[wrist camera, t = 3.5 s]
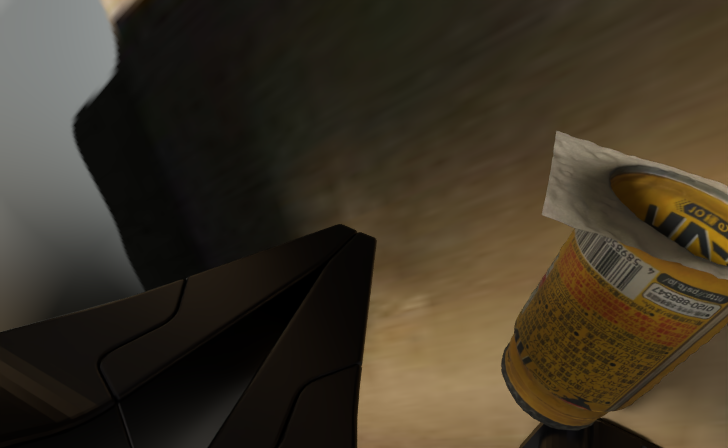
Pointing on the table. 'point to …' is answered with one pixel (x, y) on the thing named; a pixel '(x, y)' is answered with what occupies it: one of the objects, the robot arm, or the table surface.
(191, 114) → the table surface
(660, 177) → the condiment
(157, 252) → the table surface
